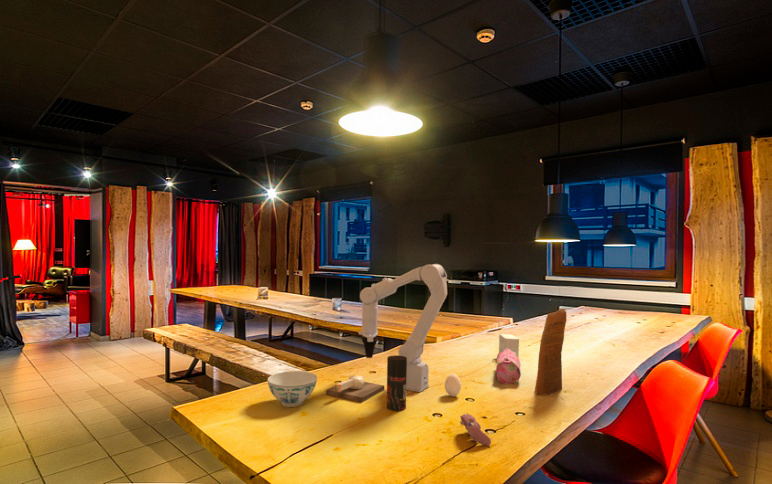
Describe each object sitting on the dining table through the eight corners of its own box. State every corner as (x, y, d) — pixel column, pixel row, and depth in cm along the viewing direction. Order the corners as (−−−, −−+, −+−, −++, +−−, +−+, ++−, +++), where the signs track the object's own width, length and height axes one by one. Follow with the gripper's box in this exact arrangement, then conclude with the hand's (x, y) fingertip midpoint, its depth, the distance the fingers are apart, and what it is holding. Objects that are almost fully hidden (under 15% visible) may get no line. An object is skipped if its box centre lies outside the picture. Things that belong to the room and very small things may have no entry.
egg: (443, 397, 141) (443, 374, 141) (446, 392, 146) (446, 370, 146) (459, 399, 139) (459, 376, 139) (462, 394, 144) (462, 372, 144)
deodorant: (404, 411, 128) (405, 360, 128) (384, 409, 129) (385, 359, 129) (407, 404, 133) (408, 356, 134) (388, 403, 135) (389, 354, 135)
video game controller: (466, 436, 115) (454, 412, 115) (481, 428, 116) (469, 405, 115) (477, 453, 105) (464, 428, 105) (493, 445, 106) (481, 419, 106)
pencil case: (520, 386, 154) (521, 361, 154) (494, 383, 157) (494, 358, 157) (520, 370, 175) (520, 348, 175) (496, 368, 177) (497, 346, 177)
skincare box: (519, 363, 186) (519, 338, 186) (504, 362, 186) (504, 338, 187) (512, 357, 197) (512, 334, 197) (498, 356, 197) (498, 333, 197)
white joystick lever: (354, 383, 148) (354, 374, 148) (366, 386, 145) (366, 377, 145) (330, 393, 137) (330, 383, 137) (342, 396, 135) (342, 386, 135)
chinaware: (325, 398, 138) (325, 374, 138) (301, 415, 124) (301, 388, 124) (284, 392, 143) (284, 369, 143) (256, 407, 128) (257, 381, 129)
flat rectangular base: (384, 390, 147) (384, 385, 147) (362, 402, 135) (362, 397, 135) (350, 383, 154) (350, 378, 154) (326, 394, 142) (326, 389, 142)
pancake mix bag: (572, 387, 154) (573, 308, 154) (546, 399, 141) (547, 313, 141) (554, 382, 159) (555, 306, 159) (527, 393, 146) (528, 311, 146)
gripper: (358, 316, 164) (357, 352, 164) (359, 323, 150) (358, 362, 150) (377, 317, 165) (376, 352, 165) (379, 323, 150) (378, 362, 150)
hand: (369, 357), depth 157 cm, fingers closed
